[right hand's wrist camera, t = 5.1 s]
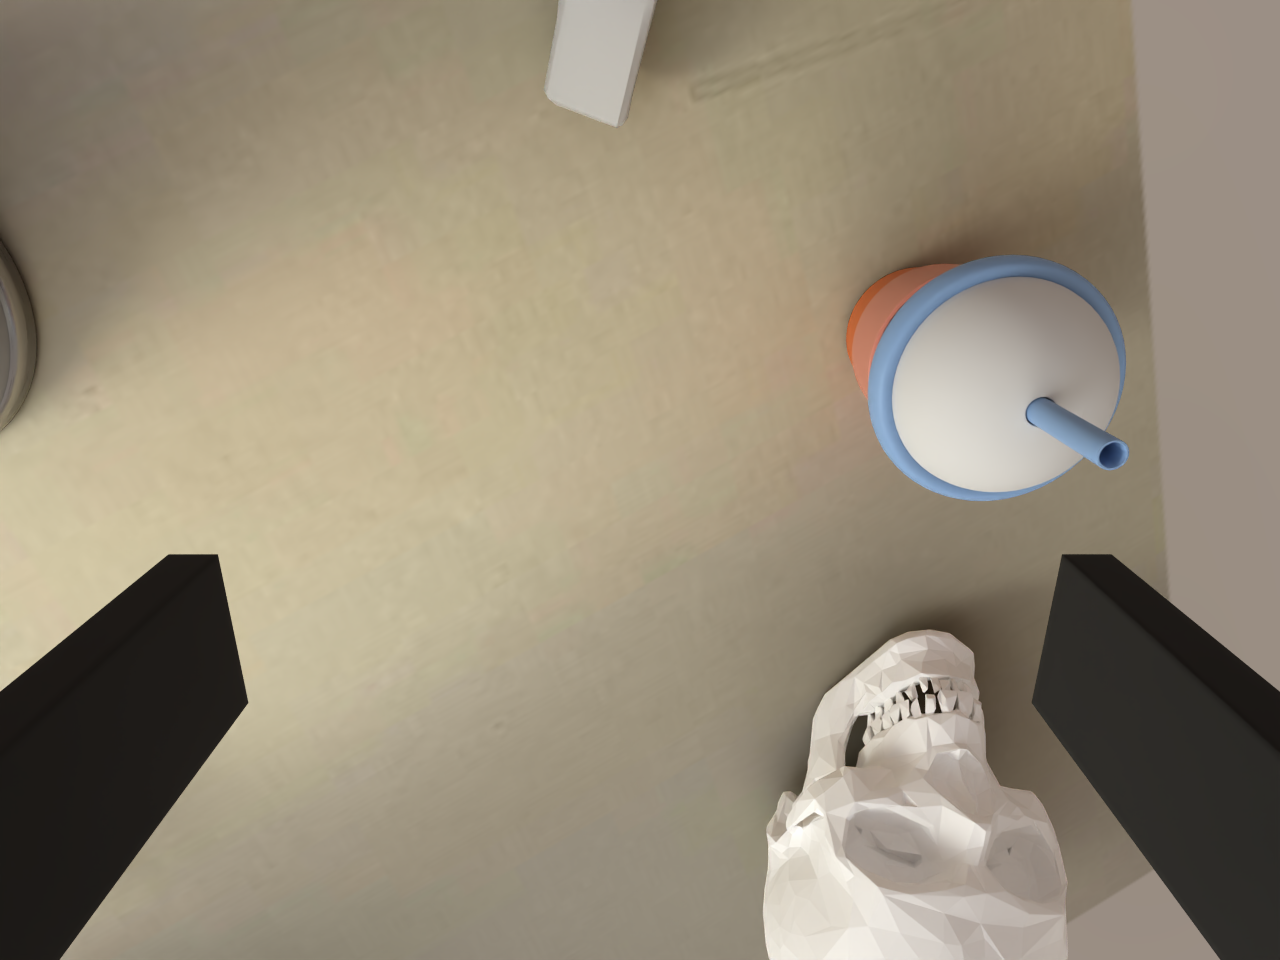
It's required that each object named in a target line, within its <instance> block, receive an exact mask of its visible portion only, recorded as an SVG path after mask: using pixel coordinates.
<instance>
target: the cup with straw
mask: <svg viewBox="0 0 1280 960" xmlns="http://www.w3.org/2000/svg"><path fill="white" fill-rule="evenodd" d="M846 342H847V350H848V355H849V358H850V361H851V363H852V366H853V369H854V373H855V377H856V379H857V381H858V384H859V386H860V388H861V390H862V391H863V393H864V395H865V397H866V398H867V400H868V406H869V412H870V418H871V422H872V425H873V428H874V431H875V434H876V436H877V438H878V440H879V442H880V444H881V446H882V448H883V450H884V451H885V453H886V454H887V456H888V457H889V458H890V459H891V461H892V462H893V463H894V464H895V465H896V466H897V467H898V468H899V469H900V470H901V471H902V472H903V473H904V474H905V475H906V476H908V477H909V478H910V479H912V480H913V481H914V482H916V483H918V484H919V485H921V486H923V487H925V488H927V489H929V490H931V491H933V492H936V493H938V494H941V495H944V496H948V497H952V498H956V499H962V500H969V501H993V500H1001V499H1007V498H1011V497H1016V496H1019V495H1022V494H1026V493H1028V492H1031V491H1033V490H1036V489H1038V488H1041V487H1043V486H1045V485H1047V484H1049V483H1050V482H1052V481H1054V480H1055V479H1057V478H1059V477H1060V476H1062V475H1063V474H1065V473H1066V472H1067V471H1069V470H1070V469H1071V468H1073V467H1074V466H1075V465H1076V464H1077V463H1078V462H1080V461H1081V460H1082V459H1083V458H1084V457H1085V458H1087V459H1088V460H1090V461H1091V462H1093V463H1094V464H1096V465H1098V466H1099V467H1101V468H1102V469H1105V470H1114V469H1117V468H1119V467H1121V466H1122V465H1123V464H1124V463H1125V462H1126V461H1127V459H1128V456H1129V448H1128V446H1127V444H1126V443H1124V442H1123V441H1121V440H1120V439H1118V438H1116V437H1114V436H1112V435H1111V434H1109V433H1107V432H1105V430H1106V429H1107V427H1108V425H1109V424H1110V422H1111V420H1112V418H1113V416H1114V413H1115V411H1116V409H1117V406H1118V403H1119V401H1120V397H1121V394H1122V390H1123V385H1124V379H1125V370H1126V352H1125V345H1124V339H1123V335H1122V331H1121V328H1120V326H1119V323H1118V320H1117V318H1116V316H1115V314H1114V312H1113V310H1112V308H1111V307H1110V305H1109V304H1108V302H1107V301H1106V299H1105V298H1104V297H1103V295H1102V294H1101V293H1100V292H1099V291H1098V290H1097V289H1096V288H1095V287H1094V286H1093V285H1092V284H1091V283H1090V282H1089V281H1088V280H1086V279H1085V278H1084V277H1082V276H1081V275H1079V274H1078V273H1076V272H1075V271H1073V270H1071V269H1069V268H1067V267H1066V266H1063V265H1061V264H1058V263H1056V262H1053V261H1050V260H1046V259H1043V258H1039V257H1033V256H1027V255H999V256H992V257H985V258H981V259H977V260H973V261H970V262H968V263H965V264H932V265H927V266H922V267H915V268H906V269H902V270H899V271H896V272H893V273H891V274H888V275H886V276H885V277H883V278H881V279H880V280H878V281H877V282H875V283H874V284H873V285H872V286H871V287H870V288H869V289H868V290H867V291H866V292H865V293H864V294H863V295H862V296H861V298H860V299H859V301H858V302H857V304H856V306H855V307H854V309H853V312H852V314H851V316H850V319H849V323H848V327H847V337H846Z"/></svg>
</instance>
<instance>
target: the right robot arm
mask: <svg viewBox="0 0 1280 960" xmlns="http://www.w3.org/2000/svg"><path fill="white" fill-rule="evenodd" d="M36 350H37V347H36V330H35V323H34V317H33V313H32V309H31V304H30V301H29V298H28V295H27V292H26V289H25V286H24V284H23V281H22V279H21V277H20V274H19V272H18V270H17V268H16V266H15V264H14V262H13V261H12V259H11V257H10V255H9V253H8V252H7V250H6V249H5V247H4V245H3V244H2V242H1V241H0V431H1V430H2V429H3V428H4V427H5V426H6V425H7V424H8V423H9V422H10V421H11V420H12V418H13V417H14V416H15V415H16V413H17V412H18V410H19V409H20V407H21V405H22V404H23V402H24V400H25V398H26V396H27V393H28V391H29V389H30V385H31V382H32V379H33V375H34V369H35V364H36ZM247 704H248V699H247V694H246V689H245V684H244V679H243V675H242V670H241V665H240V660H239V655H238V650H237V645H236V641H235V636H234V631H233V626H232V621H231V616H230V611H229V607H228V602H227V597H226V592H225V587H224V582H223V577H222V573H221V568H220V563H219V558H218V554H169V555H167V556H166V557H165V558H164V559H162V560H161V561H160V562H159V563H157V564H156V565H155V566H154V567H153V568H151V569H150V570H149V571H148V572H146V573H145V574H144V575H143V576H142V577H140V578H139V579H138V580H137V581H135V582H134V583H133V584H132V585H131V586H129V587H128V588H127V589H126V590H124V591H123V592H122V593H121V594H119V595H118V596H117V597H116V598H115V599H113V600H112V601H111V602H110V603H108V604H107V605H106V606H105V607H104V608H102V609H101V610H100V611H99V612H97V613H96V614H95V615H94V616H93V617H91V618H90V619H89V620H88V621H86V622H85V623H84V624H83V625H81V626H80V627H79V628H78V629H77V630H75V631H74V632H73V633H72V634H70V635H69V636H68V637H67V638H66V639H64V640H63V641H62V642H61V643H59V644H58V645H57V646H56V647H55V648H53V649H52V650H51V651H50V652H48V653H47V654H46V655H45V656H43V657H42V658H41V659H40V660H39V661H37V662H36V663H35V664H34V665H32V666H31V667H30V668H29V669H28V670H26V671H25V672H24V673H23V674H21V675H20V676H19V677H18V678H17V679H15V680H14V681H13V682H12V683H10V684H9V685H8V686H7V687H5V688H4V689H3V690H2V691H1V692H0V960H60V958H61V957H62V956H63V954H64V953H65V952H66V950H67V949H68V948H69V946H70V945H71V943H72V942H73V941H74V939H75V938H76V937H77V935H78V934H79V933H80V931H81V930H82V928H83V927H84V926H85V924H86V923H87V922H88V920H89V919H90V918H91V916H92V915H93V913H94V912H95V911H96V909H97V908H98V907H99V905H100V904H101V903H102V901H103V900H104V899H105V897H106V896H107V894H108V893H109V892H110V890H111V889H112V888H113V886H114V885H115V884H116V882H117V881H118V879H119V878H120V877H121V875H122V874H123V873H124V871H125V870H126V869H127V867H128V866H129V865H130V863H131V862H132V860H133V859H134V858H135V856H136V855H137V854H138V852H139V851H140V850H141V848H142V847H143V845H144V844H145V843H146V841H147V840H148V839H149V837H150V836H151V835H152V833H153V832H154V830H155V829H156V828H157V826H158V825H159V824H160V822H161V821H162V820H163V818H164V817H165V816H166V814H167V813H168V811H169V810H170V809H171V807H172V806H173V805H174V803H175V802H176V801H177V799H178V798H179V796H180V795H181V794H182V792H183V791H184V790H185V788H186V787H187V786H188V784H189V783H190V781H191V780H192V779H193V777H194V776H195V775H196V773H197V772H198V771H199V769H200V768H201V767H202V765H203V764H204V762H205V761H206V760H207V758H208V757H209V756H210V754H211V753H212V752H213V750H214V749H215V747H216V746H217V745H218V743H219V742H220V741H221V739H222V738H223V737H224V735H225V734H226V733H227V731H228V730H229V728H230V727H231V726H232V724H233V723H234V722H235V720H236V719H237V718H238V716H239V715H240V713H241V712H242V711H243V709H244V708H245V707H246V705H247ZM1032 704H1033V705H1034V707H1035V708H1036V709H1037V711H1038V712H1039V713H1040V715H1041V716H1042V718H1043V719H1044V720H1045V722H1046V723H1047V724H1048V726H1049V727H1050V728H1051V730H1052V731H1053V733H1054V734H1055V735H1056V737H1057V738H1058V739H1059V741H1060V742H1061V743H1062V745H1063V746H1064V747H1065V749H1066V750H1067V752H1068V753H1069V754H1070V756H1071V757H1072V758H1073V760H1074V761H1075V762H1076V764H1077V765H1078V767H1079V768H1080V769H1081V771H1082V772H1083V773H1084V775H1085V776H1086V777H1087V779H1088V780H1089V782H1090V783H1091V784H1092V786H1093V787H1094V788H1095V790H1096V791H1097V792H1098V794H1099V795H1100V796H1101V798H1102V799H1103V801H1104V802H1105V803H1106V805H1107V806H1108V807H1109V809H1110V810H1111V811H1112V813H1113V814H1114V816H1115V817H1116V818H1117V820H1118V821H1119V822H1120V824H1121V825H1122V826H1123V828H1124V829H1125V830H1126V832H1127V833H1128V835H1129V836H1130V837H1131V839H1132V840H1133V841H1134V843H1135V844H1136V845H1137V847H1138V848H1139V850H1140V851H1141V852H1142V854H1143V855H1144V856H1145V858H1146V859H1147V860H1148V862H1149V863H1150V865H1151V866H1152V867H1153V869H1154V870H1155V871H1156V873H1157V874H1158V875H1159V877H1160V878H1161V879H1162V881H1163V882H1164V884H1165V885H1166V886H1167V888H1168V889H1169V890H1170V892H1171V893H1172V894H1173V896H1174V897H1175V899H1176V900H1177V901H1178V903H1179V904H1180V905H1181V907H1182V908H1183V909H1184V911H1185V912H1186V913H1187V915H1188V916H1189V918H1190V919H1191V920H1192V922H1193V923H1194V924H1195V926H1196V927H1197V928H1198V930H1199V931H1200V933H1201V934H1202V935H1203V937H1204V938H1205V939H1206V941H1207V942H1208V943H1209V945H1210V946H1211V948H1212V949H1213V950H1214V952H1215V953H1216V954H1217V956H1218V957H1219V958H1220V960H1280V692H1279V691H1278V690H1277V689H1276V688H1275V687H1273V686H1272V685H1271V684H1270V683H1268V682H1267V681H1266V680H1265V679H1263V678H1262V677H1261V676H1260V675H1259V674H1257V673H1256V672H1255V671H1254V670H1252V669H1251V668H1250V667H1249V666H1248V665H1246V664H1245V663H1244V662H1243V661H1241V660H1240V659H1239V658H1238V657H1237V656H1235V655H1234V654H1233V653H1232V652H1230V651H1229V650H1228V649H1227V648H1225V647H1224V646H1223V645H1222V644H1221V643H1219V642H1218V641H1217V640H1216V639H1214V638H1213V637H1212V636H1211V635H1210V634H1208V633H1207V632H1206V631H1205V630H1203V629H1202V628H1201V627H1200V626H1198V625H1197V624H1196V623H1195V622H1194V621H1192V620H1191V619H1190V618H1189V617H1187V616H1186V615H1185V614H1184V613H1183V612H1181V611H1180V610H1179V609H1178V608H1176V607H1175V606H1174V605H1173V604H1172V603H1170V602H1169V601H1168V600H1167V599H1165V598H1164V597H1163V596H1162V595H1161V594H1159V593H1158V592H1157V591H1156V590H1154V589H1153V588H1152V587H1151V586H1149V585H1148V584H1147V583H1146V582H1145V581H1143V580H1142V579H1141V578H1140V577H1138V576H1137V575H1136V574H1135V573H1134V572H1132V571H1131V570H1130V569H1129V568H1127V567H1126V566H1125V565H1124V564H1123V563H1121V562H1120V561H1119V560H1118V559H1116V558H1115V557H1114V556H1113V555H1111V554H1062V558H1061V563H1060V568H1059V572H1058V577H1057V582H1056V587H1055V592H1054V597H1053V602H1052V607H1051V611H1050V616H1049V621H1048V626H1047V631H1046V636H1045V641H1044V645H1043V650H1042V655H1041V660H1040V665H1039V670H1038V675H1037V679H1036V684H1035V689H1034V694H1033V699H1032Z"/></svg>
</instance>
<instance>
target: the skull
mask: <svg viewBox="0 0 1280 960" xmlns="http://www.w3.org/2000/svg"><path fill="white" fill-rule="evenodd" d="M974 671H975V663H974V653H973V652H972V651H971V650H970V649H969V648H968V647H967V646H965V645H964V644H963V643H962V642H960V641H959V640H958V639H957V638H955V637H954V636H953V635H952V634H950V633H947V632H941V631H936V630H930V629H929V630H920V631H910V632H906V633H904V634H902V635H899V636H897V637H895V638H892V639H890V640H889V641H887V642H886V643H885V644H884V645H883V646H882V647H880V648H879V649H878V650H877V651H876V652H874V653H873V654H872V655H871V656H870V657H869V658H867V659H866V660H865V661H864V662H863V663H861V664H860V665H859V666H858V667H857V668H855V669H854V670H853V671H852V672H851V673H849V674H848V675H847V676H846V677H845V678H843V679H842V680H841V681H840V682H839V683H837V684H836V685H835V686H834V687H833V688H831V689H830V690H829V691H828V692H827V693H825V695H824V696H823V698H822V700H821V702H820V704H819V706H818V708H817V711H816V713H815V715H814V718H813V724H812V735H811V746H810V755H809V759H808V771H807V775H806V778H805V782H804V786H803V790H802V792H801V793H800V795H799V796H797V795H795V794H794V793H793V792H791V791H788V792H783V793H782V795H781V797H780V799H779V802H778V806H777V811H776V812H775V814H774V816H773V817H772V819H771V820H770V822H769V823H768V825H767V829H766V832H767V839H768V845H769V847H768V872H767V878H766V884H765V890H764V905H763V919H764V929H765V940H766V947H767V951H768V956H769V960H1067V958H1068V944H1067V926H1066V908H1065V899H1066V891H1067V878H1066V873H1065V869H1064V865H1063V860H1062V856H1061V852H1060V847H1059V844H1058V841H1057V838H1056V834H1055V831H1054V828H1053V826H1052V823H1051V821H1050V819H1049V817H1048V815H1047V813H1046V810H1045V808H1044V806H1043V804H1042V803H1041V802H1040V800H1039V799H1038V798H1037V796H1036V795H1035V794H1034V793H1033V792H1032V791H1028V790H1020V789H1013V788H1008V787H1004V786H1000V784H999V782H998V781H997V779H996V777H995V775H994V773H993V772H992V770H991V768H990V766H989V764H988V763H987V759H986V734H985V729H984V715H983V710H982V709H981V704H982V702H980V701H978V699H979V690H978V687H977V684H976V682H975V679H974ZM928 681H931V682H932V686H933V690H934V693H936V692H937V691H939V690H940V691H939V693H938V695H937V698H938V701H939V704H940V707H941V711H942V713H934V712H935V709H936V697H935V695H933V694H925V714H921V711H920V707H919V703H918V699H917V698H918V694H917V691H916V687H915V686H916V685H918V684H920V686H921V689H922V692H924V693H925V692H926V691H927V689H928ZM939 681H940V682H939ZM950 686H951V688H952V690H950ZM941 688H942V690H941ZM904 691H905V693H906V694H907V696H908V697H909V698H910V700H911V701H914V702H913V703H912V704H911V713H912V715H913V716H911V714H910V706H909V699H908V700H905V701H904V697H903V695H902V692H904ZM895 701H896V704H894V702H895ZM955 702H956V706H955V710H953V708H954V705H955ZM883 707H884V709H883ZM874 712H875V717H874V715H873V713H874ZM900 712H901V715H902V720H901V721H899V717H900ZM862 715H868V721H867V729H866V731H865V733H864V736H863V739H862V740H863V742H864V744H865V746H864V747H863V749H862V750H861V751H860V752H859V755H858V761H857V765H856V767H848V766H845V751H846V747H847V743H848V740H849V736H850V733H851V729H852V726H853V723H854V722H855V720H856V719H857V717H858V716H862Z"/></svg>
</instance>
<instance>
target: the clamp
mask: <svg viewBox="0 0 1280 960" xmlns="http://www.w3.org/2000/svg"><path fill="white" fill-rule="evenodd" d="M656 4H657V0H559V4H558V12H557V20H556V26H555V31H554V37H553V42H552V47H551V53H550V58H549V64H548V69H547V74H546V80H545V85H544V91H545V93H546V95H547V97H548V99H549V100H550V101H552V102H553V103H554V104H556V105H557V106H560V107H563V108H565V109H568V110H571V111H573V112H576V113H579V114H581V115H584V116H587V117H589V118H592V119H595V120H597V121H600V122H603V123H605V124H608V125H610V126H613V127H616V128H618V127H619V126H622V125H623V124H624V122H625V121H626V120H627V118H628V114H629V110H630V105H631V100H632V95H633V91H634V87H635V83H636V79H637V75H638V72H639V68H640V64H641V60H642V56H643V53H644V49H645V45H646V41H647V38H648V34H649V30H650V26H651V22H652V19H653V15H654V11H655V7H656Z"/></svg>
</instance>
